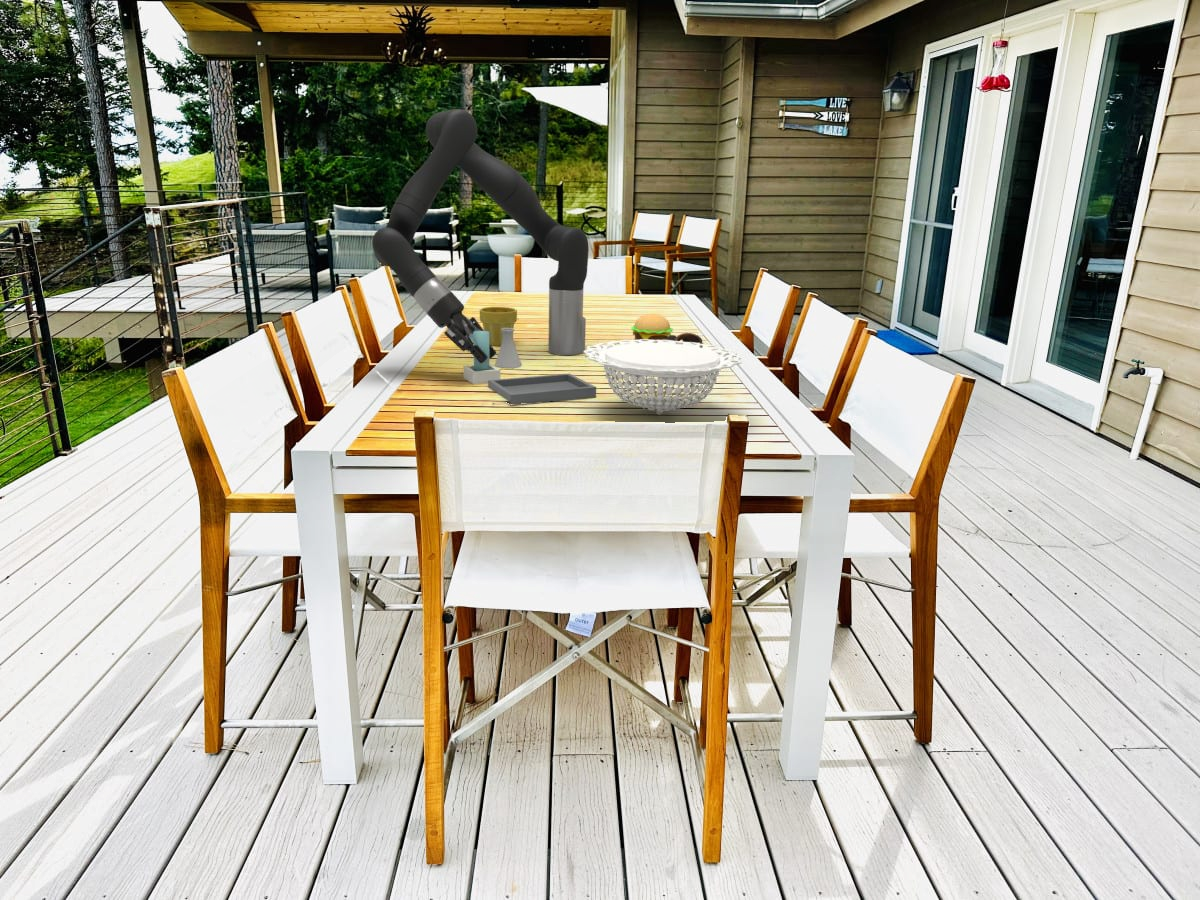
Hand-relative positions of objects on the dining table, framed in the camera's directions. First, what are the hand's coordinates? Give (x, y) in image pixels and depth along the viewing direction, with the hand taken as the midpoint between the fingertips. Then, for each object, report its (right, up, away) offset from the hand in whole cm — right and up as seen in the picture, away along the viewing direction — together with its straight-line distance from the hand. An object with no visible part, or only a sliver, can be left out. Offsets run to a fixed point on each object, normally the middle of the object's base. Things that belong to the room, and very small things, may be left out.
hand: (489, 358), depth 194 cm
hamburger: (+40, +10, +54) cm, 68 cm away
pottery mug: (+48, +3, +34) cm, 59 cm away
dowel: (-2, -5, +2) cm, 5 cm away
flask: (+2, -1, +17) cm, 17 cm away
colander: (+37, -14, -19) cm, 44 cm away
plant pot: (-3, +9, +47) cm, 48 cm away
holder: (-2, -5, +2) cm, 6 cm away
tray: (+12, -8, -6) cm, 16 cm away
